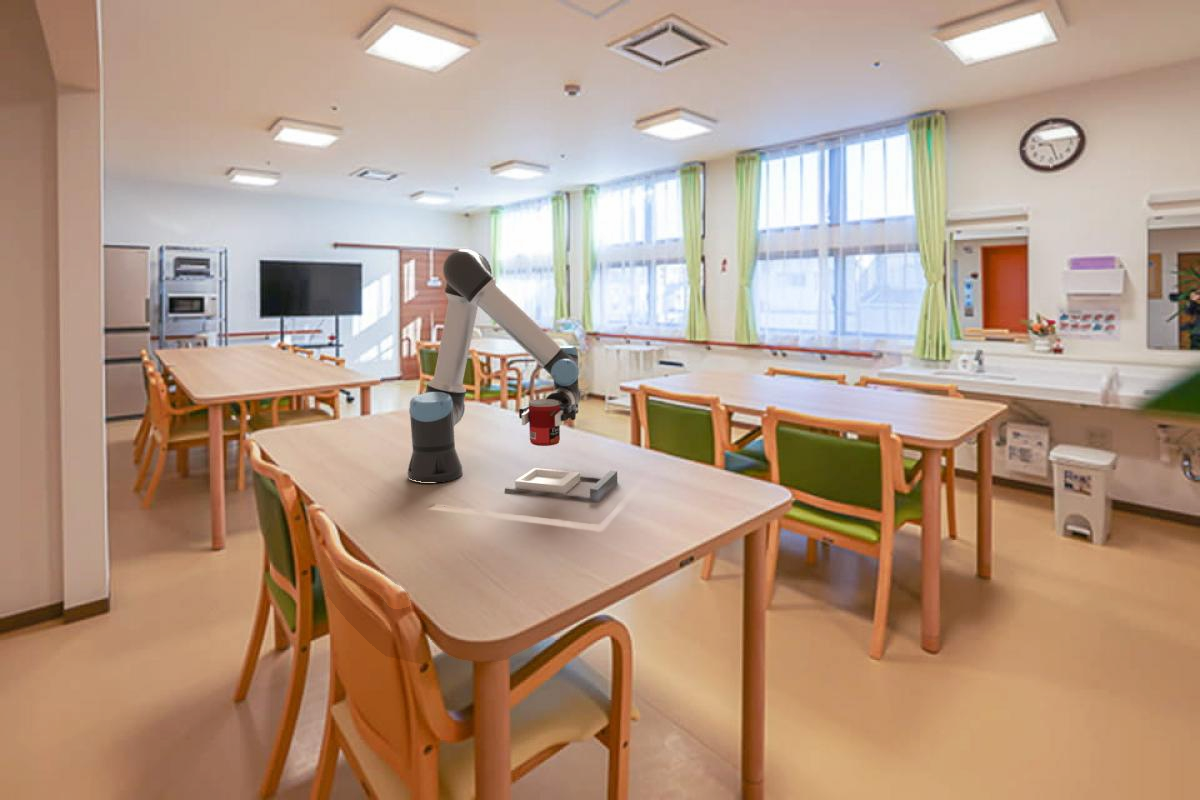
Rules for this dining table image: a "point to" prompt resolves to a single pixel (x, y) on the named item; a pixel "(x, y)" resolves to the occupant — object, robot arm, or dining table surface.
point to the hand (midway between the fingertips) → (539, 420)
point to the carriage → (548, 480)
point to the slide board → (595, 495)
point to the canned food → (543, 422)
